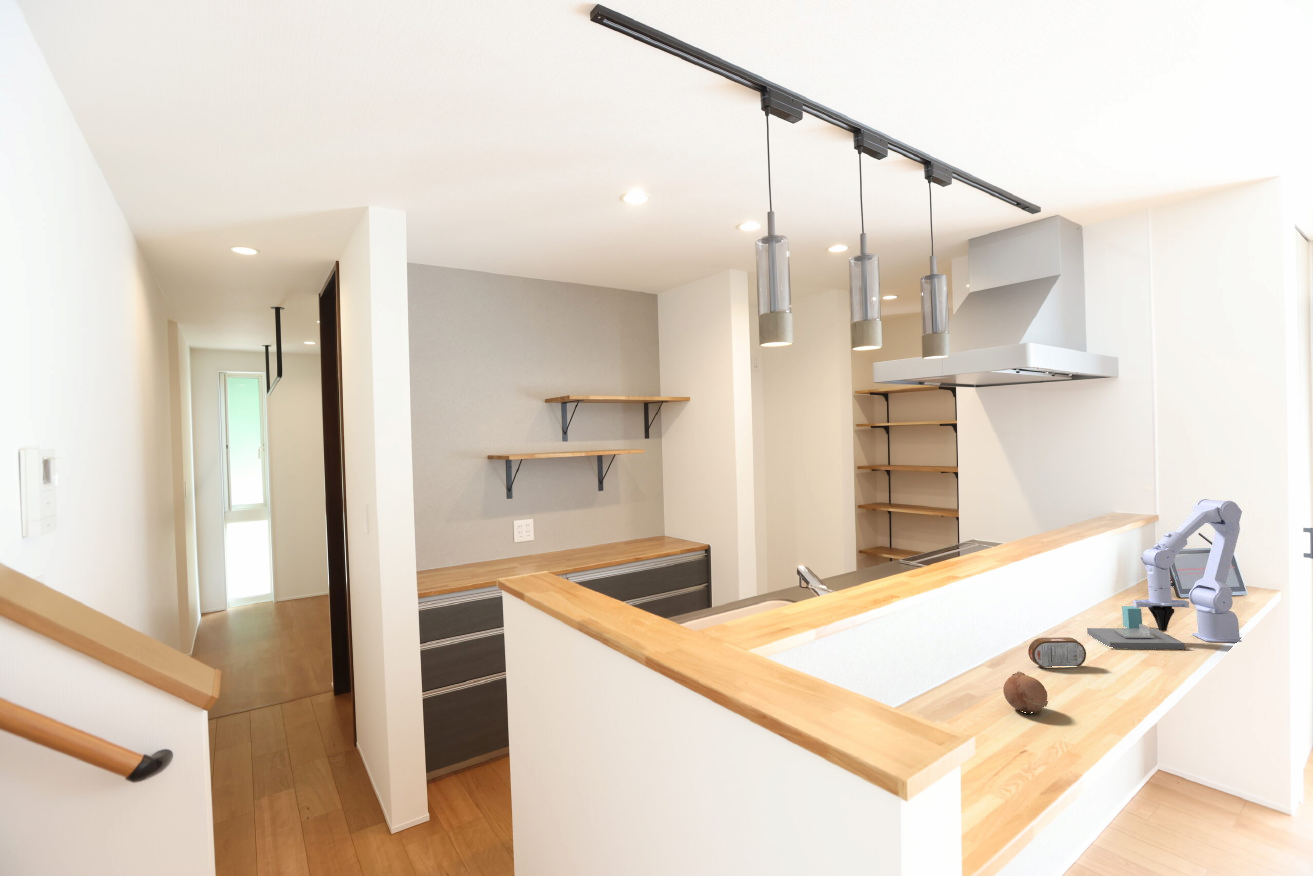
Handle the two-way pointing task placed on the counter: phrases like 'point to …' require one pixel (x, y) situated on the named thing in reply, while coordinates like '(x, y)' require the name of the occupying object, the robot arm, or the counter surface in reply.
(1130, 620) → the plug
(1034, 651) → the tin
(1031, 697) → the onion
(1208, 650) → the counter surface
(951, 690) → the counter surface
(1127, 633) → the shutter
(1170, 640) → the socket plate
